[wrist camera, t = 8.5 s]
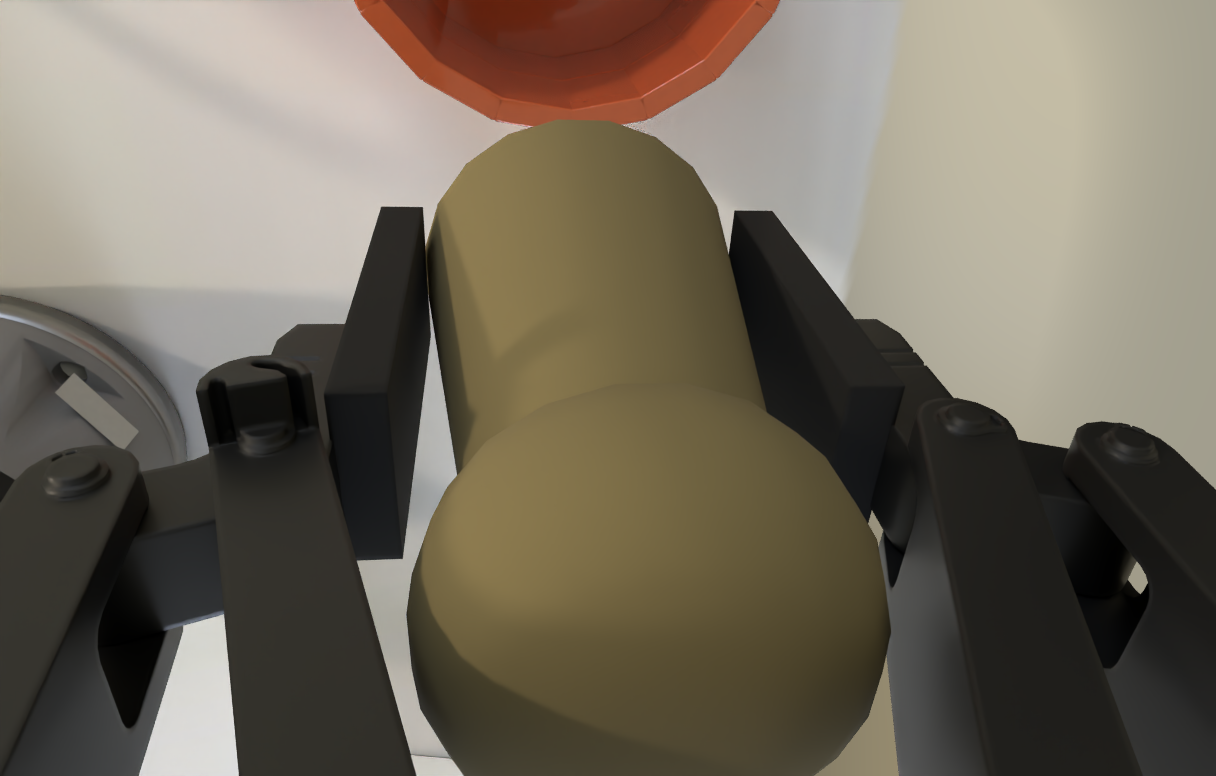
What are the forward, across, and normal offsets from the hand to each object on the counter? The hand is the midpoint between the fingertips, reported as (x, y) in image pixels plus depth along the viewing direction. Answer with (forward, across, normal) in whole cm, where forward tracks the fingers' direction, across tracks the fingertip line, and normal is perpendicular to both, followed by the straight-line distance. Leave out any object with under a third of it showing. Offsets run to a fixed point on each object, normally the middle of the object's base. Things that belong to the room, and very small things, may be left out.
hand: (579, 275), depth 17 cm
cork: (+1, 0, 0) cm, 1 cm away
